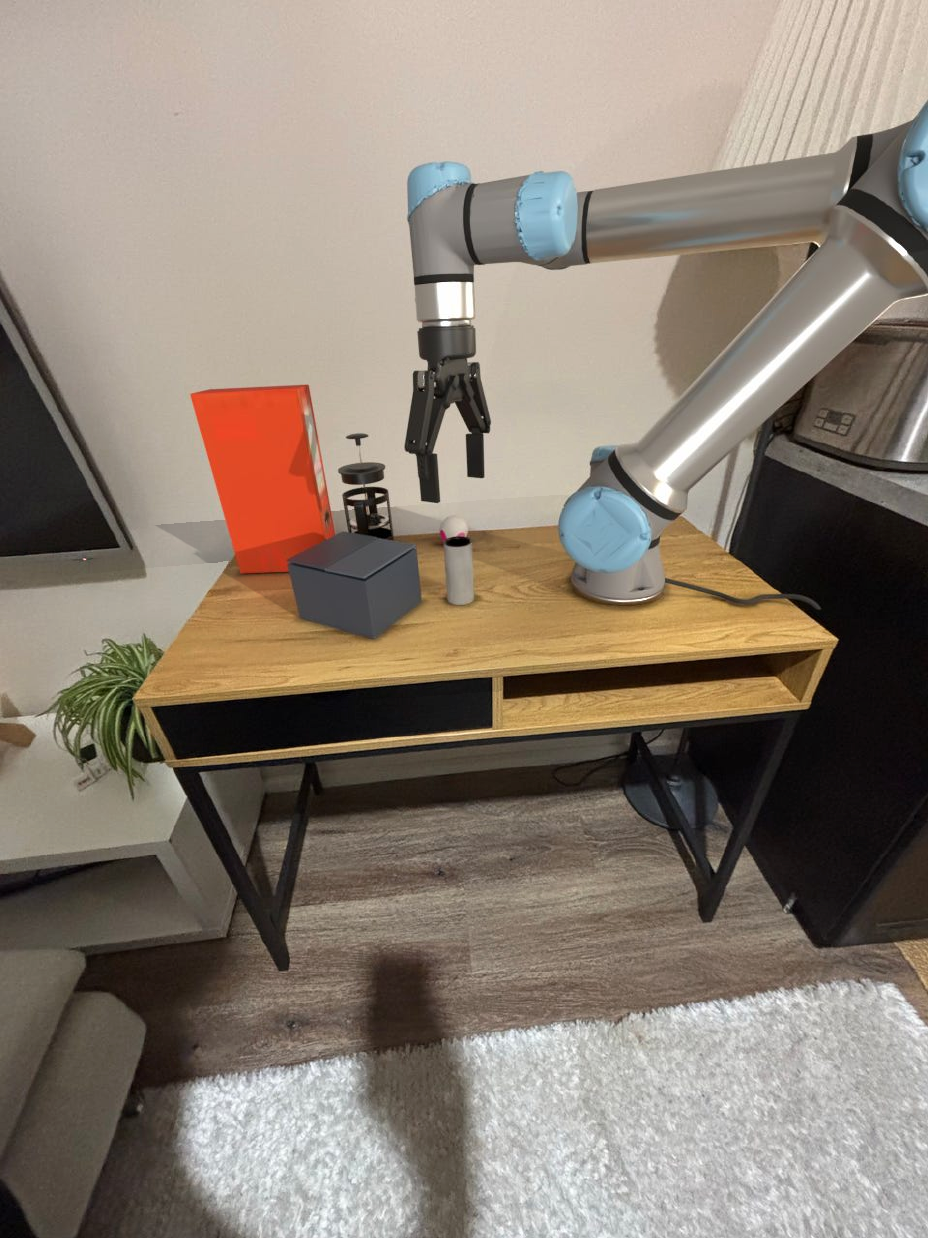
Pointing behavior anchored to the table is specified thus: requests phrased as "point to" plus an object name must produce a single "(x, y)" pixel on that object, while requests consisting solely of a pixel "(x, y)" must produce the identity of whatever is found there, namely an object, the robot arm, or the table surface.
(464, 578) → the gray hollow cylinder
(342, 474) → the french press
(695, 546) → the table surface
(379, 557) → the flap
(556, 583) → the table surface
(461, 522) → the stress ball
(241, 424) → the file binder
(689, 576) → the table surface
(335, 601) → the carton
